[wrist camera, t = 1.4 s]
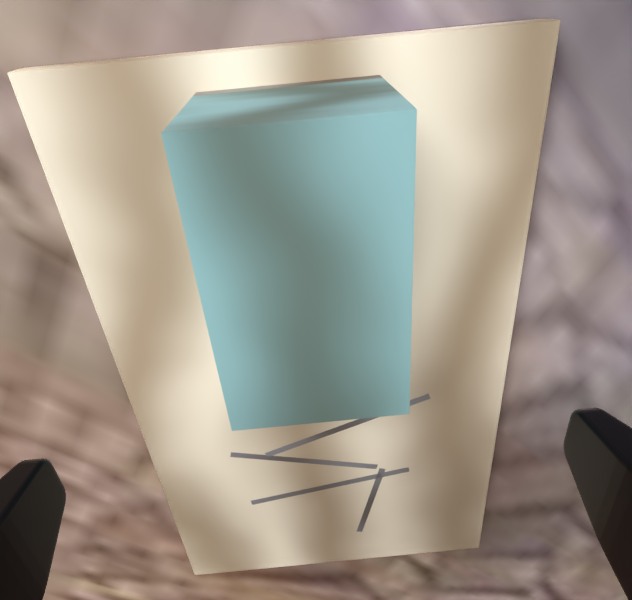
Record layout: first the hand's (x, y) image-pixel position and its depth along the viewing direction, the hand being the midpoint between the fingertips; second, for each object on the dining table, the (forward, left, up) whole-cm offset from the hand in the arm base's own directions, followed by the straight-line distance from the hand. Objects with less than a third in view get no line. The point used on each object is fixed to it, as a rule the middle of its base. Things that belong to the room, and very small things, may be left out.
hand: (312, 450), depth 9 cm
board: (0, +8, -11) cm, 13 cm away
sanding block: (0, 0, -10) cm, 10 cm away
